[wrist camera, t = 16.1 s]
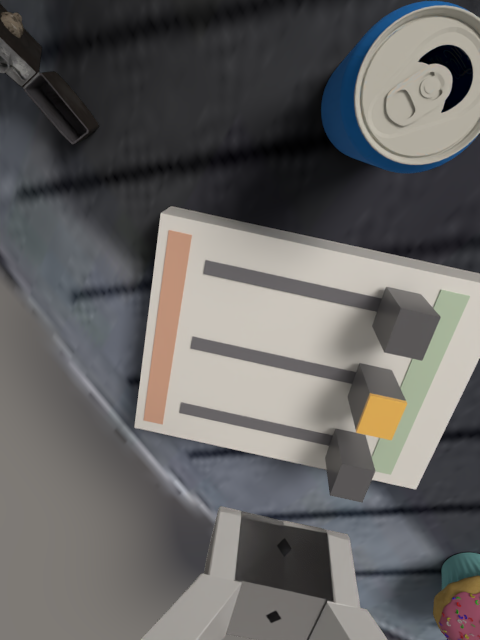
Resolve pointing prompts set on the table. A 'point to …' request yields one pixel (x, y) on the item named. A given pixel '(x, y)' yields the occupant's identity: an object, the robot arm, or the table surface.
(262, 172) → the table surface
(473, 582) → the cupcake
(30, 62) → the lighter
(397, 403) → the block
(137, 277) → the table surface
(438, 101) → the beverage can
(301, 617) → the robot arm
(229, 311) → the white slider switch panel
